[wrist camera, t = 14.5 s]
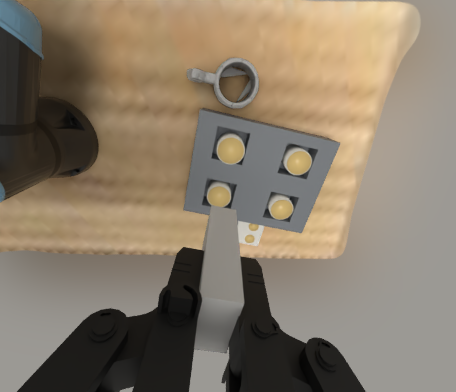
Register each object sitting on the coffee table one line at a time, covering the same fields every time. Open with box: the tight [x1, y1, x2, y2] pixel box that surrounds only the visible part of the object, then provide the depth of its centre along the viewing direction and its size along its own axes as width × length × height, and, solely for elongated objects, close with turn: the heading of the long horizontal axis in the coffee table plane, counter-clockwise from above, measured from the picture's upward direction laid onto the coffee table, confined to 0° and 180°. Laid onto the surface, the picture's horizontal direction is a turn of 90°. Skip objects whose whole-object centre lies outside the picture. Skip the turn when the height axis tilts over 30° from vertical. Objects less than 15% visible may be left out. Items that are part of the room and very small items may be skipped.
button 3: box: [267, 192, 293, 220], centre depth 48 cm, size 5×5×5 cm
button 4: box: [281, 144, 312, 175], centre depth 44 cm, size 5×5×5 cm
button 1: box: [207, 179, 231, 207], centre depth 46 cm, size 5×5×5 cm
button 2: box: [217, 132, 245, 165], centre depth 40 cm, size 5×5×5 cm
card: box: [237, 221, 264, 246], centre depth 54 cm, size 10×7×1 cm
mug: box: [187, 58, 259, 108], centre depth 36 cm, size 8×12×12 cm, turn 79°
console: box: [184, 108, 340, 233], centre depth 46 cm, size 26×20×5 cm
